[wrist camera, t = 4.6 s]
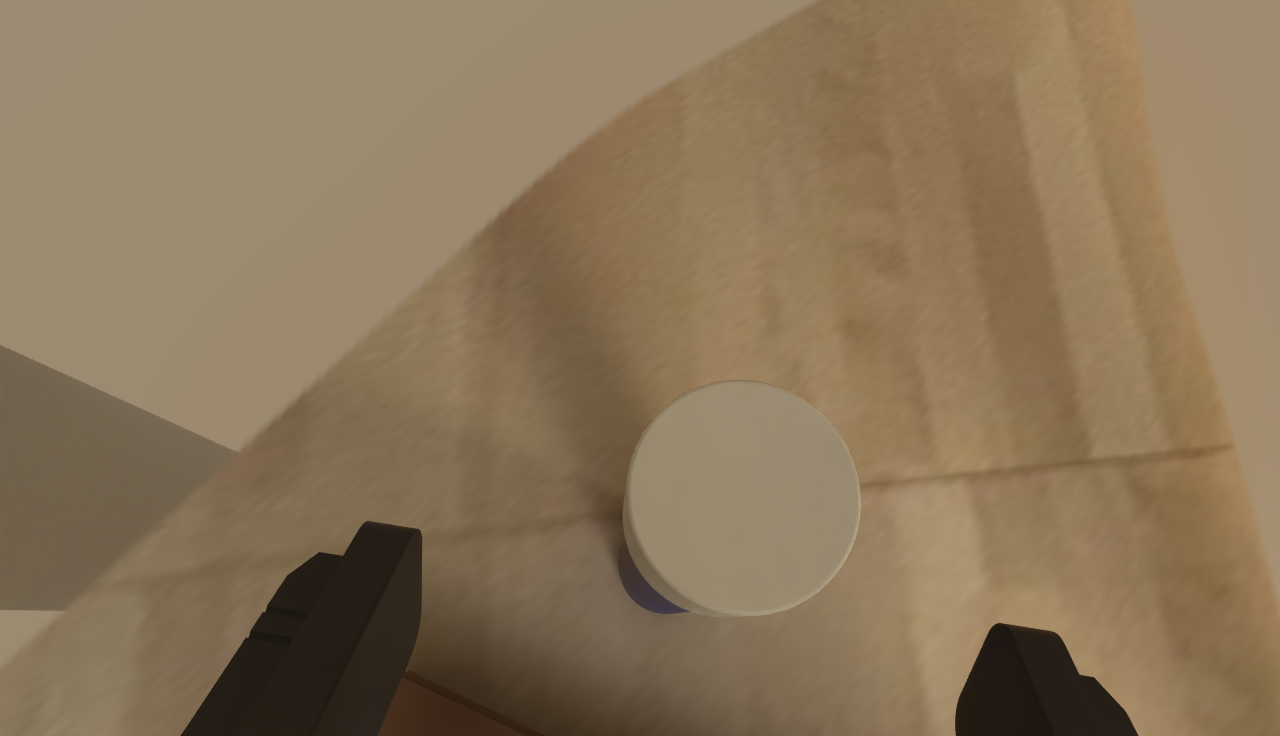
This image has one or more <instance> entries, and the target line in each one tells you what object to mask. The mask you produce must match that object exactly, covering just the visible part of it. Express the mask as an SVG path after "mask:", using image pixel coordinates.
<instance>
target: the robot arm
mask: <svg viewBox="0 0 1280 736" xmlns="http://www.w3.org/2000/svg"><path fill="white" fill-rule="evenodd" d="M421 601H422V534H421V531H420V530H419V529H415V528H409V527H402V526H396V525H390V524H383V523H377V522H371V521H366V522H365V523H363V525H362V526H361V527H360V529H359V530H358V532H357V534H356V535H355V537H354V539H353V540H352V542H351V544H350V545H349V547H348V549H347V550H346V552H345V554H344V555H343V556H340V555H334V554H327V553H321V552H319V553H318V554H316V555H315V556H313V557H312V558H311V559H309V560H308V561H307V562H305V563H304V564H303V565H301V566H300V567H298V568H297V569H296V570H294V571H293V572H292V573H290V574H289V575H287V577H286V578H285V580H284V581H283V583H282V584H281V586H280V587H279V589H278V590H277V592H276V593H275V595H274V596H273V598H272V599H271V601H270V602H269V604H268V605H267V609H266V612H263V613H262V614H261V616H260V617H259V619H258V620H257V622H256V623H255V625H254V626H253V628H252V629H251V631H250V636H249V638H245V640H244V641H243V643H242V644H241V646H240V647H239V649H238V650H237V652H236V653H235V655H234V656H233V658H232V659H231V661H230V662H229V664H228V665H227V667H226V668H225V670H224V671H223V673H222V674H221V676H220V677H219V679H218V680H217V682H216V683H215V685H214V687H213V688H212V690H211V691H210V693H209V694H208V696H207V697H206V699H205V700H204V702H203V703H202V705H201V706H200V708H199V709H198V711H197V712H196V714H195V715H194V717H193V718H192V720H191V721H190V723H189V724H188V726H187V727H186V729H185V730H184V732H183V733H182V734H181V736H378V733H379V731H380V728H381V726H382V724H383V721H384V719H385V717H386V714H387V712H388V709H389V707H390V705H391V702H392V700H393V698H394V695H395V693H396V690H397V688H398V686H399V683H400V681H401V679H402V676H403V674H404V671H405V669H406V667H407V664H408V662H409V660H410V657H411V654H412V652H413V649H414V646H415V642H416V638H417V634H418V630H419V625H420V618H421ZM955 731H956V736H1138V734H1137V732H1136V730H1135V728H1134V726H1133V724H1132V722H1131V721H1130V719H1129V717H1128V715H1127V713H1126V711H1125V710H1124V709H1123V708H1122V707H1121V706H1120V705H1119V704H1118V703H1117V702H1116V701H1115V699H1114V698H1113V697H1112V696H1111V695H1110V694H1109V693H1108V692H1107V691H1106V690H1105V689H1104V688H1103V687H1102V686H1101V684H1100V683H1099V682H1098V681H1097V680H1096V679H1095V678H1094V677H1089V676H1082V675H1079V673H1078V671H1077V669H1076V667H1075V665H1074V663H1073V660H1072V658H1071V656H1070V654H1069V652H1068V650H1067V648H1066V646H1065V644H1064V642H1063V640H1062V639H1061V637H1060V636H1059V635H1058V634H1056V633H1055V632H1052V631H1047V630H1041V629H1034V628H1028V627H1022V626H1015V625H1009V624H1003V623H997V624H995V625H994V626H993V627H992V628H991V629H990V631H989V633H988V635H987V637H986V639H985V641H984V643H983V646H982V648H981V650H980V652H979V655H978V657H977V659H976V661H975V663H974V666H973V668H972V670H971V672H970V674H969V677H968V679H967V681H966V683H965V685H964V688H963V690H962V692H961V694H960V697H959V700H958V703H957V708H956V716H955Z"/></svg>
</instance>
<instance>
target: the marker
mask: <svg viewBox="0 0 1280 736" xmlns="http://www.w3.org/2000/svg"><path fill="white" fill-rule="evenodd" d="M860 514H861V493H860V485H859V479H858V475H857V471H856V467H855V464H854V462H853V459H852V457H851V454H850V452H849V450H848V448H847V446H846V444H845V442H844V441H843V439H842V437H841V436H840V434H839V433H838V432H837V430H836V429H835V427H834V426H833V425H832V424H831V423H830V422H829V420H828V419H827V418H826V417H825V416H824V415H823V414H822V413H821V412H820V411H818V410H817V409H816V408H815V407H814V406H812V405H811V404H810V403H808V402H807V401H805V400H804V399H802V398H801V397H799V396H797V395H795V394H793V393H791V392H789V391H787V390H785V389H782V388H780V387H777V386H774V385H771V384H767V383H762V382H757V381H748V380H727V381H721V382H715V383H711V384H707V385H704V386H701V387H698V388H696V389H693V390H691V391H689V392H687V393H685V394H683V395H681V396H680V397H678V398H677V399H675V400H673V401H672V402H671V403H670V404H668V405H667V406H666V407H665V408H663V409H662V410H661V411H660V412H659V413H658V414H657V415H656V417H655V418H654V419H653V420H652V421H651V422H650V424H649V425H648V426H647V428H646V429H645V431H644V432H643V434H642V435H641V437H640V439H639V441H638V443H637V445H636V447H635V450H634V453H633V455H632V458H631V461H630V465H629V470H628V474H627V481H626V488H625V495H624V503H623V529H624V534H625V536H624V541H623V546H622V550H621V555H620V562H619V571H620V577H621V580H622V583H623V585H624V588H625V590H626V591H627V593H628V594H629V596H630V597H631V598H632V599H633V600H634V601H635V602H636V603H637V604H639V605H640V606H641V607H643V608H645V609H647V610H649V611H652V612H656V613H662V614H670V613H682V612H693V613H697V614H701V615H706V616H714V617H748V616H764V615H769V614H774V613H779V612H782V611H784V610H787V609H790V608H793V607H795V606H797V605H799V604H801V603H803V602H805V601H807V600H808V599H810V598H811V597H813V596H814V595H815V594H817V593H818V592H820V591H821V590H822V589H823V588H824V587H825V586H826V585H827V584H828V583H829V582H830V581H831V580H832V579H833V578H834V576H835V575H836V574H837V573H838V572H839V570H840V569H841V567H842V566H843V564H844V562H845V561H846V559H847V557H848V556H849V553H850V551H851V549H852V546H853V544H854V542H855V538H856V535H857V531H858V527H859V521H860Z"/></svg>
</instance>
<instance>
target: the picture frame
mask: <svg viewBox="0 0 1280 736" xmlns="http://www.w3.org/2000/svg"><path fill="white" fill-rule="evenodd" d="M378 736H544V735H542V734H540V733H538V732H536V731H534V730H531V729H529V728H527V727H525V726H523V725H521V724H519V723H517V722H515V721H512V720H510V719H508V718H506V717H504V716H502V715H500V714H498V713H495V712H493V711H491V710H489V709H487V708H485V707H483V706H481V705H479V704H476V703H474V702H472V701H470V700H468V699H466V698H464V697H462V696H460V695H457V694H455V693H453V692H451V691H449V690H447V689H445V688H443V687H441V686H438V685H436V684H434V683H432V682H430V681H428V680H426V679H424V678H422V677H419V676H417V675H415V674H413V673H411V672H404V674H403V676H402V679H401V681H400V683H399V686H398V688H397V690H396V693H395V695H394V698H393V700H392V702H391V705H390V707H389V709H388V712H387V714H386V717H385V719H384V721H383V724H382V726H381V728H380V731H379V733H378Z"/></svg>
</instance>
